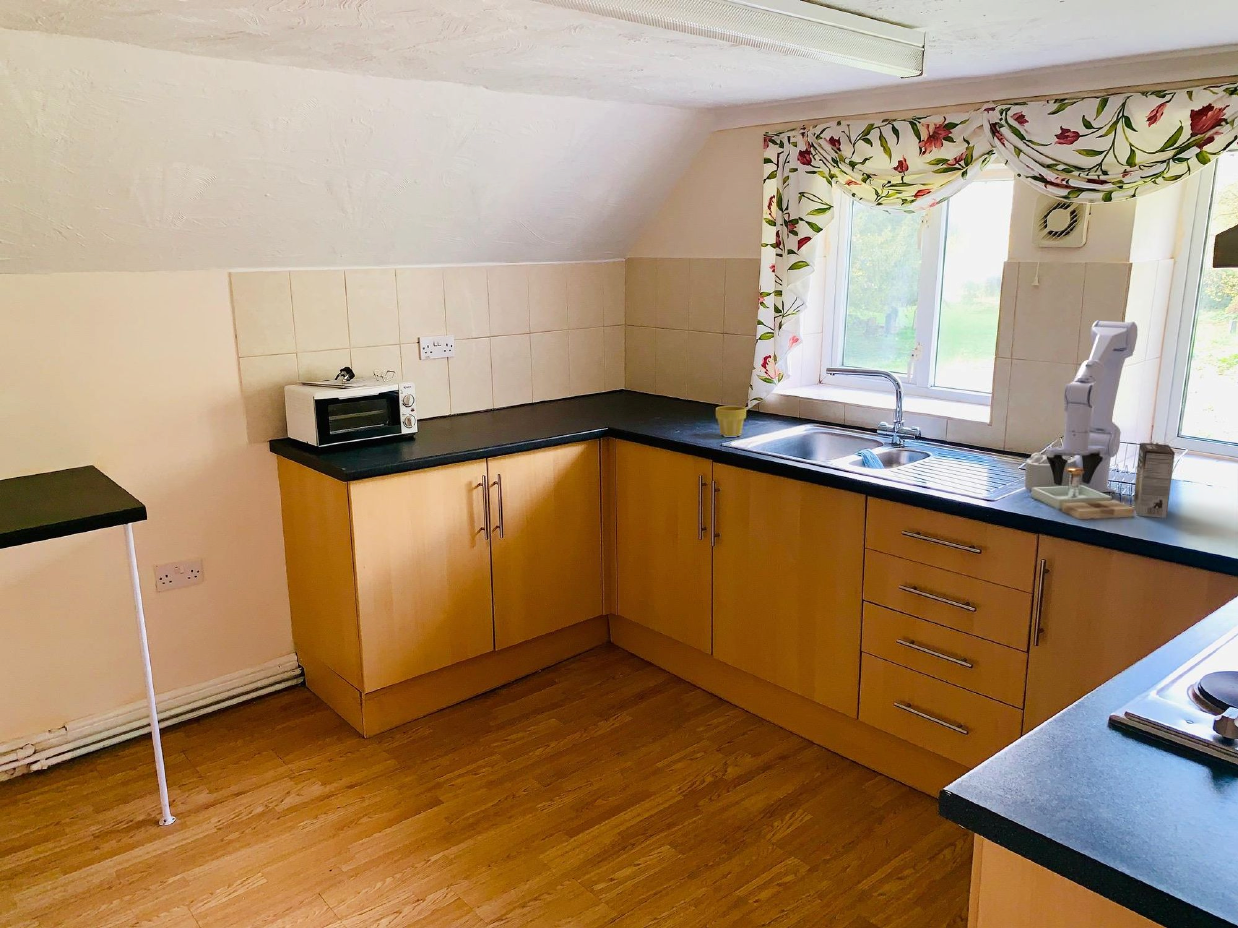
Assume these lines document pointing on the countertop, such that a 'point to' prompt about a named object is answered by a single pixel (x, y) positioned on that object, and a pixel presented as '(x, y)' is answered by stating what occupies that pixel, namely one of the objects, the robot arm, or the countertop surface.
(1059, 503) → the tray
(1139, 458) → the coffee box
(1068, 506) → the tan flat rectangular block
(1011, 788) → the countertop surface
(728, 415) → the plant pot
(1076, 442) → the robot arm
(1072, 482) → the pin
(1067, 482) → the lumpy-topped squat cylinder
